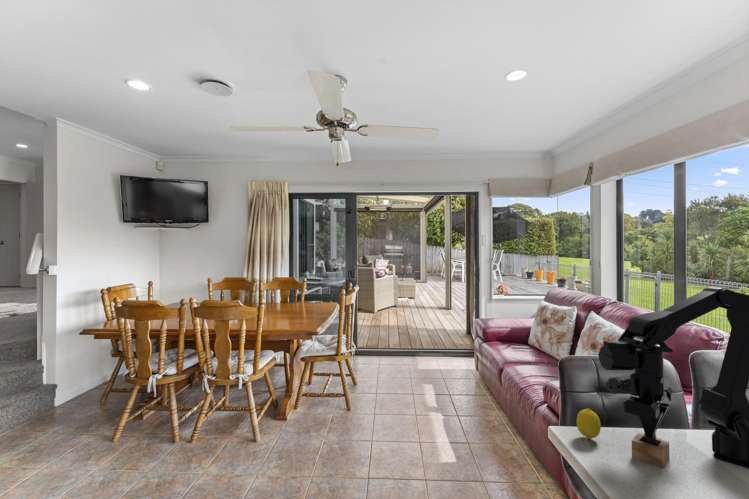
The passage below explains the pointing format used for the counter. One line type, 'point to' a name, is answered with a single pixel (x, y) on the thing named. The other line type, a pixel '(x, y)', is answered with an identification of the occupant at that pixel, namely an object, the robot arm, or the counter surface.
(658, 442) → the block with square hole
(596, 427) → the lemon
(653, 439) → the peg
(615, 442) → the counter surface
